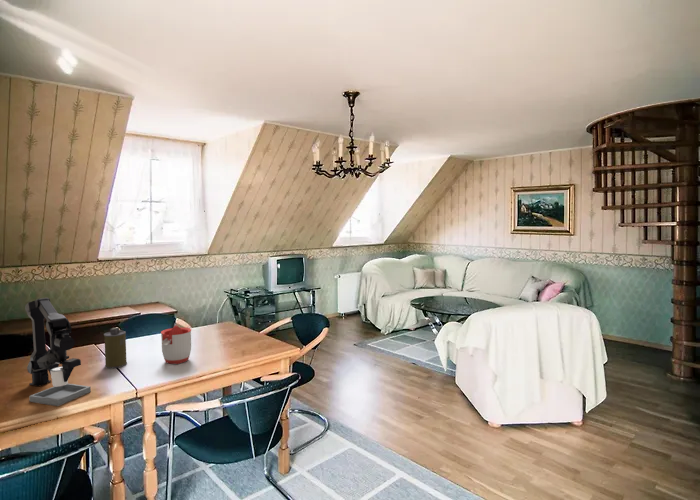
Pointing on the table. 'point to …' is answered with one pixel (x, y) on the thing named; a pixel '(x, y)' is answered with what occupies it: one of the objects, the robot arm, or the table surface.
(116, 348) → the canister
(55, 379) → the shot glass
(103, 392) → the table surface
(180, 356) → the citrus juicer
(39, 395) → the tray
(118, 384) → the table surface
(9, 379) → the table surface
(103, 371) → the table surface
